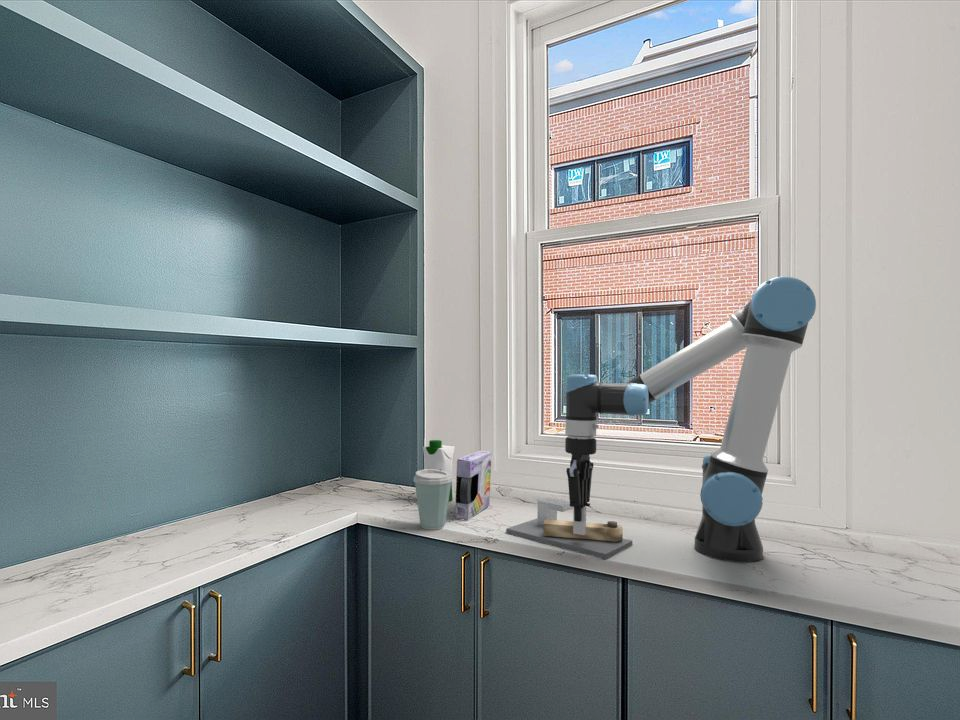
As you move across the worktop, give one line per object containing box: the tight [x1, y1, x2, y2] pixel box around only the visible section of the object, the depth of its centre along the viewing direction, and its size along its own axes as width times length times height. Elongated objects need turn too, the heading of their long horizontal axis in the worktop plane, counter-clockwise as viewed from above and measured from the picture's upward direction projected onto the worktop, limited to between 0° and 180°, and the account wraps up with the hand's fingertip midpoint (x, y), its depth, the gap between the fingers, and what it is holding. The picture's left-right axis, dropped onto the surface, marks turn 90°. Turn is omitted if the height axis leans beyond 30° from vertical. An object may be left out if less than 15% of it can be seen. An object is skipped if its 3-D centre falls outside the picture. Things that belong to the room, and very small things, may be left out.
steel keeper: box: [536, 497, 574, 527], centre depth 145 cm, size 8×5×8 cm, turn 49°
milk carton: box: [422, 439, 456, 503], centre depth 176 cm, size 9×9×20 cm
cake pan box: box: [454, 450, 492, 521], centre depth 162 cm, size 19×5×18 cm, turn 159°
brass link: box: [543, 519, 624, 542], centre depth 135 cm, size 20×5×4 cm, turn 79°
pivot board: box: [505, 518, 634, 560], centre depth 137 cm, size 29×14×1 cm, turn 49°
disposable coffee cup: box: [412, 469, 453, 531], centre depth 146 cm, size 11×11×15 cm
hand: (579, 533), depth 131 cm, fingers closed
